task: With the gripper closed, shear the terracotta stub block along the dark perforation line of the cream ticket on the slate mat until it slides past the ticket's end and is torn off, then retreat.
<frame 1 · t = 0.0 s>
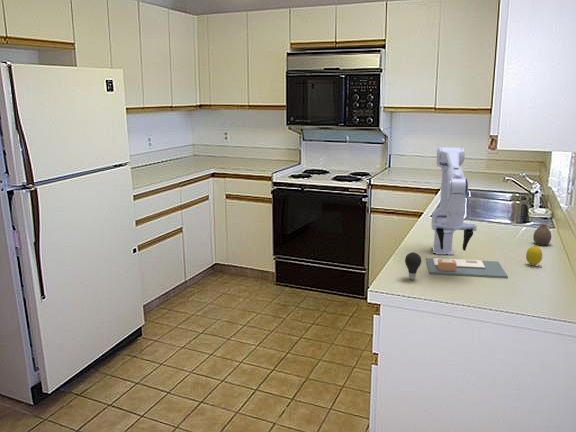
hand: (452, 249, 180), 10 cm above the worktop, fingers open, 7 cm apart
stub: (447, 264, 186), point 2 cm above the worktop, slide at 0.0 cm
light bulb: (412, 280, 179), on the worktop
brown pointed fruit: (541, 245, 218), on the worktop
ticket: (458, 266, 192), resting on mat
lemon: (532, 266, 192), on the worktop
mat: (464, 268, 189), on the worktop
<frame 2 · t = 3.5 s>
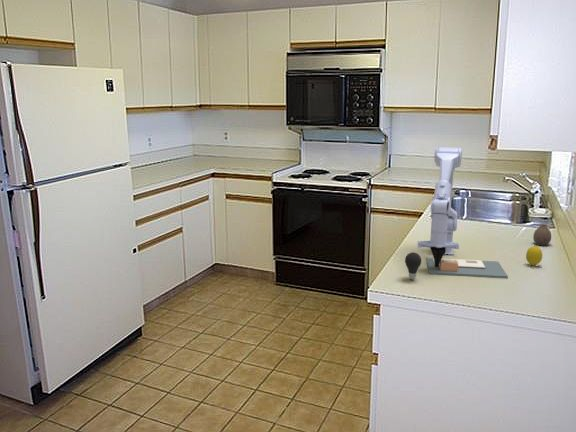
hand: (436, 266, 187), 2 cm above the worktop, fingers closed
stub: (448, 265, 186), point 2 cm above the worktop, slide at 0.6 cm, touching gripper
everything else where it was.
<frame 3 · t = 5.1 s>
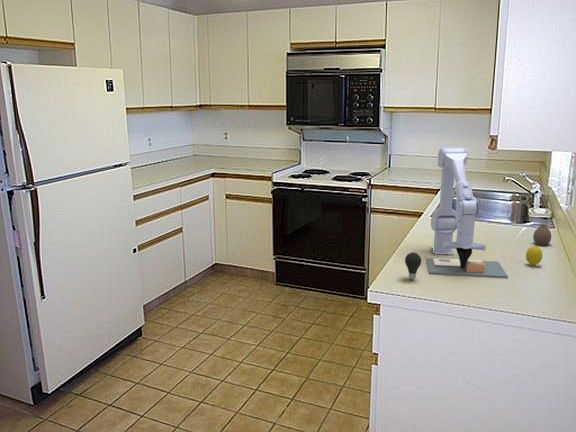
hand: (462, 267, 186), 2 cm above the worktop, fingers closed
stub: (474, 266, 185), point 2 cm above the worktop, slide at 9.8 cm, touching gripper
everything else where it was.
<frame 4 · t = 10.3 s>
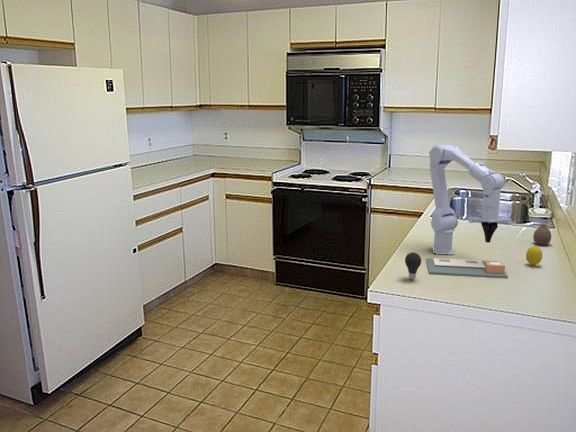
hand: (487, 241, 189), 10 cm above the worktop, fingers closed
stub: (494, 267, 183), point 2 cm above the worktop, slide at 16.7 cm
everything else where it was.
at the end: stub slide at 16.7 cm; the gripper is holding nothing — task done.
